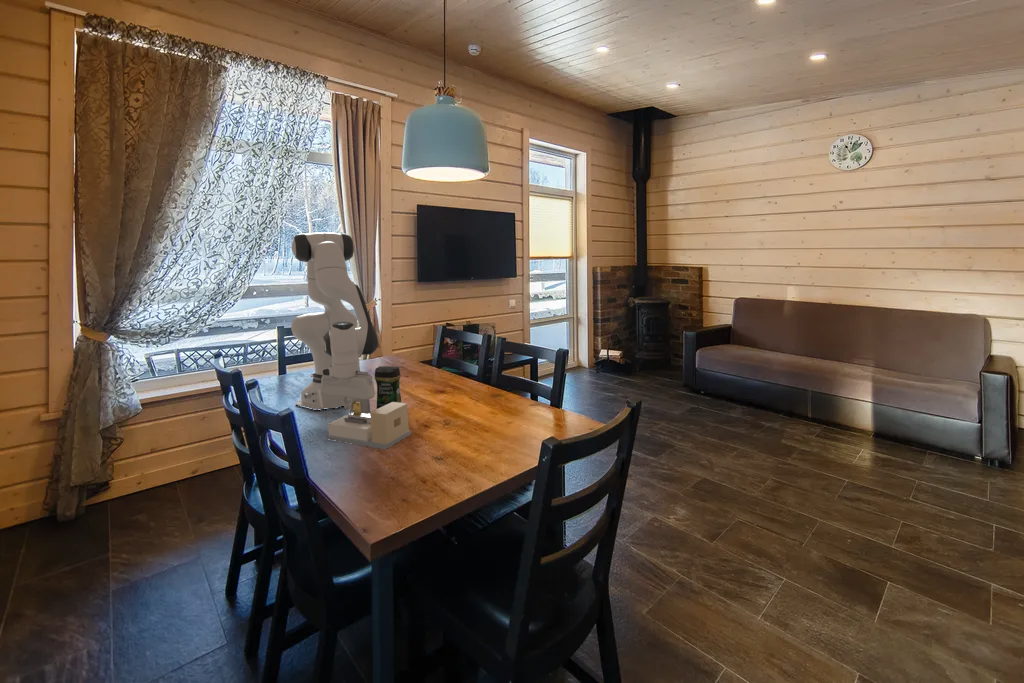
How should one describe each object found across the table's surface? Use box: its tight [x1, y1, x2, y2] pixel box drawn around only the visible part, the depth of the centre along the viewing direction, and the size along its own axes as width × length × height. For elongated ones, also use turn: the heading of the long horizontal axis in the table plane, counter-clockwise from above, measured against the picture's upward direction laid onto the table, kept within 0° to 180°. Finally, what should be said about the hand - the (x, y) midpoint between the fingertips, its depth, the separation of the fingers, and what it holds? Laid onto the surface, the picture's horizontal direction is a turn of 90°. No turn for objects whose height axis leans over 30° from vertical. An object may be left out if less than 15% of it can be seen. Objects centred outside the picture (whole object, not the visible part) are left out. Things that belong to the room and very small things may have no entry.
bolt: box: [347, 402, 371, 423], centre depth 167 cm, size 10×3×6 cm, turn 68°
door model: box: [326, 402, 412, 450], centre depth 166 cm, size 24×14×12 cm, turn 68°
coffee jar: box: [374, 365, 403, 409], centre depth 192 cm, size 10×8×19 cm
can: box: [349, 399, 371, 414], centre depth 187 cm, size 8×8×12 cm
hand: (349, 409), depth 168 cm, fingers closed
